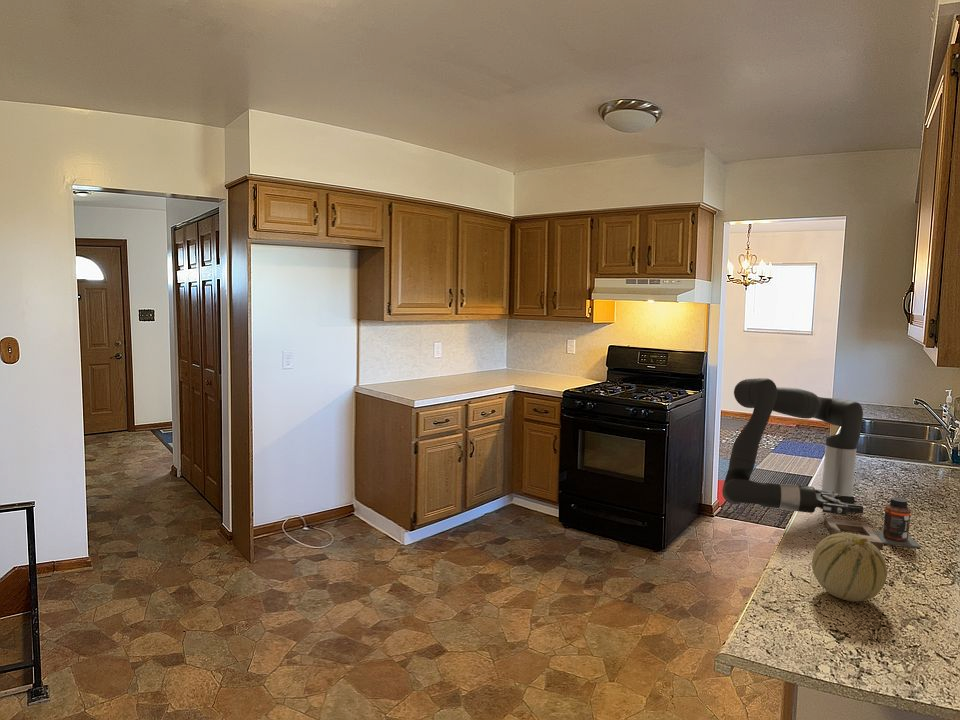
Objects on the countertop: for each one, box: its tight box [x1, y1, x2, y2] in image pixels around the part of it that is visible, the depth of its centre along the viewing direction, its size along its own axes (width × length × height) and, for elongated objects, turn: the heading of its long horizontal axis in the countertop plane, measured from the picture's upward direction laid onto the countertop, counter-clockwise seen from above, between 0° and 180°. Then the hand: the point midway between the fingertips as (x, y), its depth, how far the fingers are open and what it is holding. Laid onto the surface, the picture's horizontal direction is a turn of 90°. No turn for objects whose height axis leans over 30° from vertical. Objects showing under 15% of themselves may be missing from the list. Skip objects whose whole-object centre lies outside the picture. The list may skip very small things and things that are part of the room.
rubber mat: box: [873, 530, 921, 549], centre depth 177 cm, size 9×9×1 cm
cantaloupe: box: [811, 532, 888, 603], centre depth 142 cm, size 15×15×15 cm
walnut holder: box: [823, 517, 884, 549], centre depth 180 cm, size 16×11×2 cm
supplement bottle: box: [882, 496, 912, 541], centre depth 177 cm, size 6×6×11 cm
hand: (858, 504), depth 179 cm, fingers open, 8 cm apart
